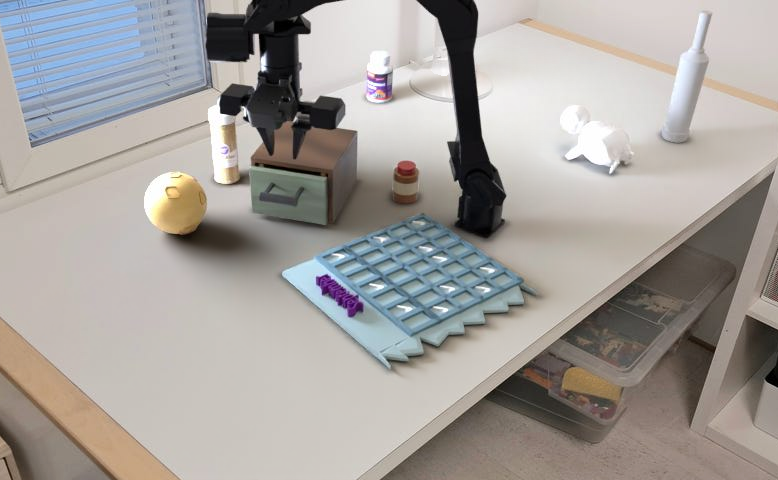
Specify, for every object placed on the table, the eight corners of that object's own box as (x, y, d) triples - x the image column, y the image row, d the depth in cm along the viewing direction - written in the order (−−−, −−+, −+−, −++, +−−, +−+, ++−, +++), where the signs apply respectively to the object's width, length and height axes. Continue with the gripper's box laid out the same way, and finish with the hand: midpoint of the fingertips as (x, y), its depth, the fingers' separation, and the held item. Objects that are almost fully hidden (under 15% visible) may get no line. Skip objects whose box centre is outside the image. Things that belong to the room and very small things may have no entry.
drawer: (316, 241, 140) (315, 196, 135) (241, 228, 143) (237, 183, 138) (348, 185, 154) (348, 143, 149) (279, 175, 157) (277, 132, 152)
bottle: (691, 143, 172) (725, 17, 157) (664, 142, 172) (696, 16, 157) (683, 131, 176) (716, 7, 161) (658, 131, 176) (688, 7, 161)
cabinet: (333, 223, 146) (332, 170, 140) (253, 210, 149) (250, 157, 143) (356, 181, 157) (357, 130, 151) (282, 170, 160) (280, 119, 154)
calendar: (538, 298, 131) (541, 285, 130) (391, 371, 117) (392, 357, 116) (422, 219, 148) (423, 207, 146) (282, 275, 134) (281, 263, 133)
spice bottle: (422, 196, 154) (424, 163, 150) (408, 206, 151) (410, 173, 147) (401, 188, 156) (402, 156, 152) (387, 198, 153) (388, 166, 149)
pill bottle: (362, 100, 185) (363, 56, 179) (372, 90, 189) (373, 47, 183) (386, 105, 183) (387, 60, 177) (395, 95, 187) (397, 51, 181)
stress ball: (155, 250, 139) (146, 195, 133) (143, 219, 146) (135, 166, 140) (216, 238, 142) (211, 184, 136) (202, 208, 149) (196, 156, 143)
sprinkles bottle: (217, 186, 155) (210, 116, 147) (212, 174, 158) (206, 105, 150) (242, 183, 156) (237, 113, 148) (237, 171, 160) (232, 102, 151)
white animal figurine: (622, 173, 168) (567, 122, 173) (645, 141, 162) (587, 89, 166) (597, 188, 163) (541, 135, 168) (620, 156, 157) (561, 102, 161)
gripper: (197, 74, 123) (207, 171, 133) (323, 91, 120) (324, 190, 129) (228, 45, 132) (235, 139, 141) (346, 61, 128) (346, 156, 138)
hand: (283, 156), depth 137 cm, fingers open, 4 cm apart
